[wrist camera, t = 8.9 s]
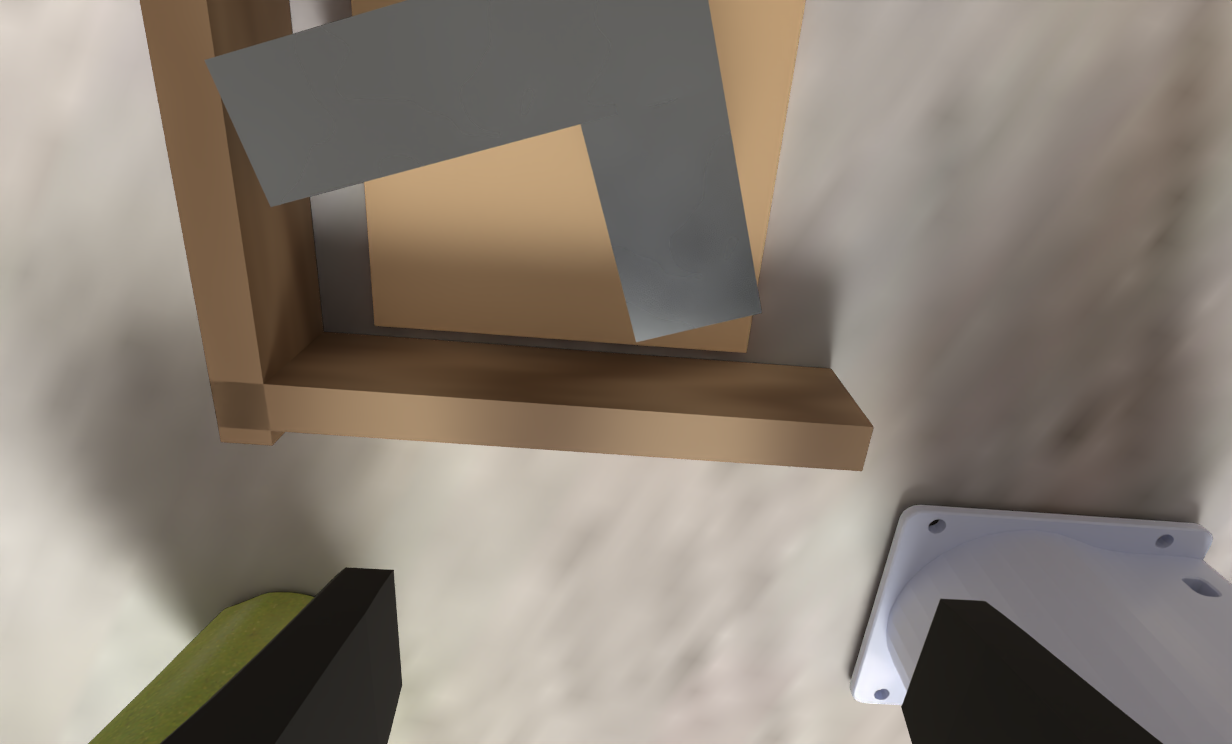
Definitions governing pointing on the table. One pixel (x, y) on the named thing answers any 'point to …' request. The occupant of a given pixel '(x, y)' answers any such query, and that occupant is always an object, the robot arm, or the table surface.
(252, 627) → the plant pot
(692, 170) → the bracket
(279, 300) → the walls
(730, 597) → the table surface
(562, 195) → the pad
